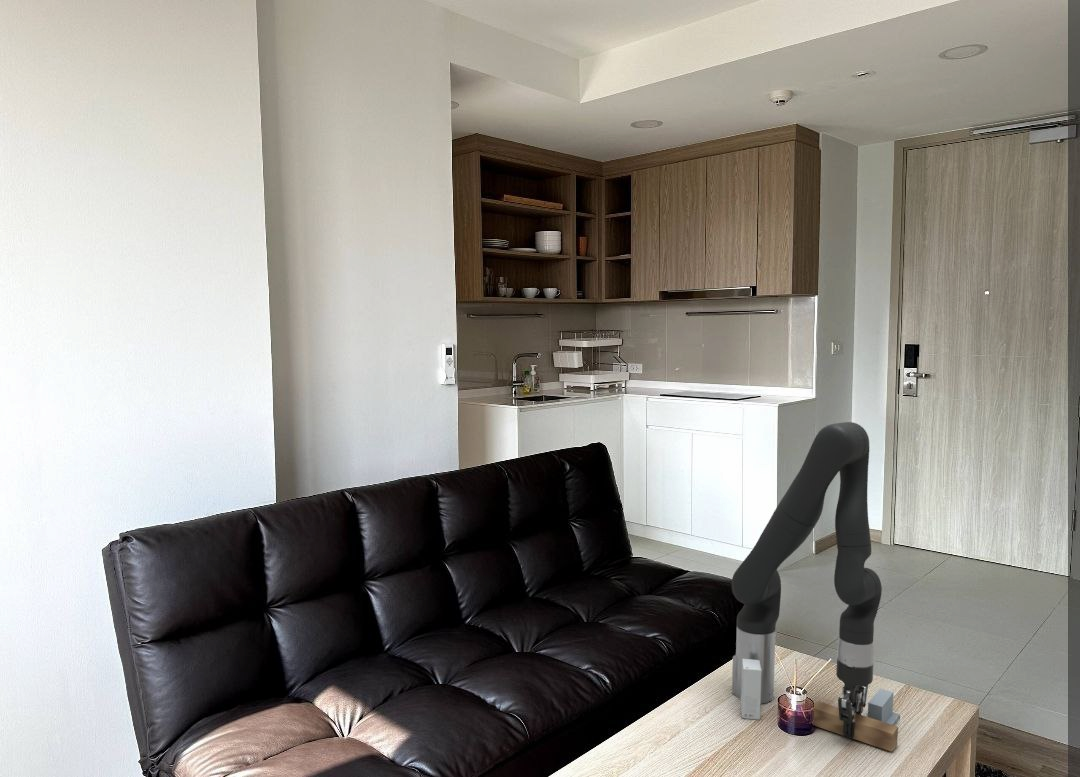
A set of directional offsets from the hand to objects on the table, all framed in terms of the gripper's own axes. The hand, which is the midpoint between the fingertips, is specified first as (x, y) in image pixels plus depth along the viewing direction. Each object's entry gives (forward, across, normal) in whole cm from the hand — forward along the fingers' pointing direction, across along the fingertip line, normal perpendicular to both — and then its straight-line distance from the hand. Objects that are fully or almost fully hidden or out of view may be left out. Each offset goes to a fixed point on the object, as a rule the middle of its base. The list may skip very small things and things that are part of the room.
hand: (851, 732), depth 173 cm
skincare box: (+1, +5, -22) cm, 22 cm away
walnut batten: (0, 0, 0) cm, 0 cm away
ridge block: (+1, -10, +3) cm, 11 cm away
